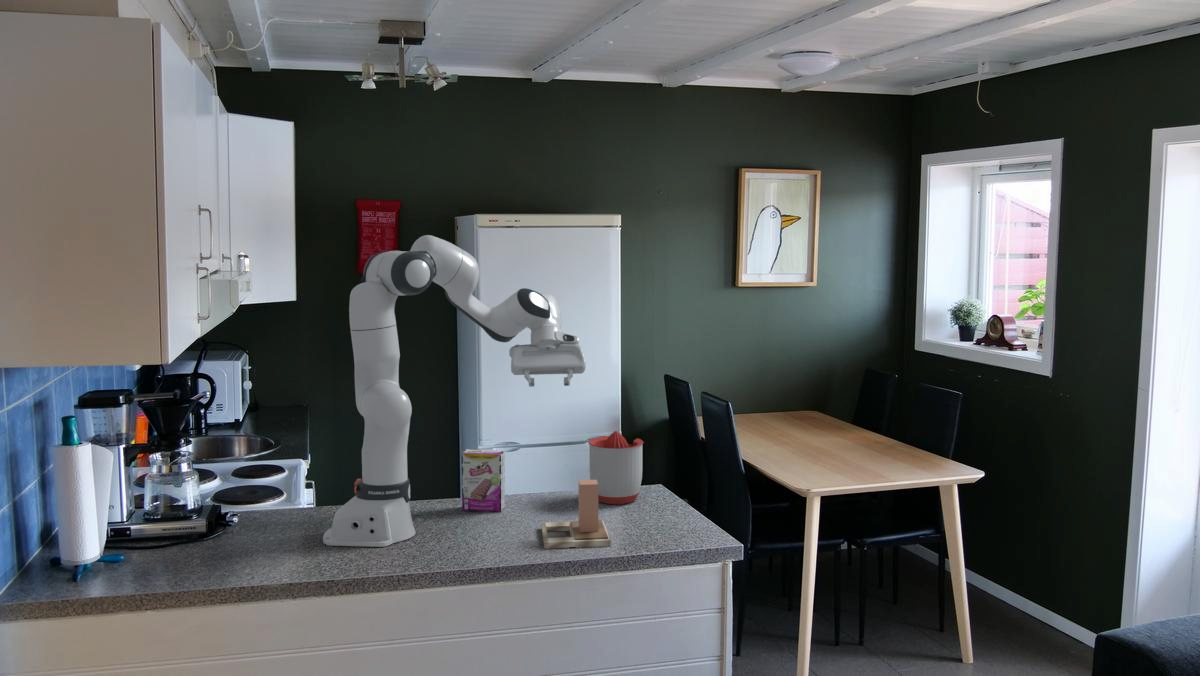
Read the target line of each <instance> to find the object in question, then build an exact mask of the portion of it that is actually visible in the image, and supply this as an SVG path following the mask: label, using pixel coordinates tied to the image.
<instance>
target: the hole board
mask: <svg viewBox="0 0 1200 676" xmlns="http://www.w3.org/2000/svg"><path fill="white" fill-rule="evenodd" d="M541 534H542V535H541V536H542V541H543V547H544V549H547V550H548V549H549V550H550V549H567V548H568V549H570V548H569V547H576V548H592V547H593V548H595V547H598V548H599V547H601V548H602V547H611V544H612V543H611V542H612V541H611V538H610V534H609V533H608V530H607V527H606V525H605V522H604V520H602V519H598V532H580V529H579V520H574V521H573V520H572V521H571V520H570V521H558V522H557V521H554V522H550V521H549V522H541Z"/></svg>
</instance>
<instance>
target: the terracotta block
mask: <svg viewBox="0 0 1200 676" xmlns="http://www.w3.org/2000/svg"><path fill="white" fill-rule="evenodd" d="M598 520H599V501H598V482H597V480H590V479H578V521H579V529H580V532H598Z"/></svg>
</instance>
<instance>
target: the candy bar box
mask: <svg viewBox="0 0 1200 676" xmlns="http://www.w3.org/2000/svg"><path fill="white" fill-rule="evenodd" d="M505 458H506V457H505V450H502V449H501V450H500V449H499V450H498V449H474V448H473V449H472V448H471V449H469V448H466V449H464V450H463V451H462V453H461V501H462V502H461V504H462V505H461V506H462V507H461V509H462V512H463V511H464V512H465V511H468V512H497V513H502V512H503V510H504V508H506V506H505V505H506V500H505V498H506V497H505V493H506V491H505V490H506V489H505V486H506V485H505V483H506V482H505V481H506V480H505V475H506V474H505V461H506V460H505Z"/></svg>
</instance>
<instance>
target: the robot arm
mask: <svg viewBox="0 0 1200 676" xmlns="http://www.w3.org/2000/svg"><path fill="white" fill-rule="evenodd" d="M362 272H363V273H362V277H361V280H360V283H359V284H357V285H356V286H354V287H353V288H352V289H351V292H350V295H349V307H348V312H349V314H348V315H349V317H348V318H349V328H350V337H351V344H352V352H353V361H354V392H355V405H356V408H357V410H358V413H359V414H360V416H362V417H363V419H364V420H363V421H364V430H363V431H364V433H363V442H362V448H361V469H362V470H361V474H362V475H361V476H362V477H361V478H356V480H355V482H354V486H353V489H354V496H353V497H352V498H351V499H349V500H348V501H347V502H345V503H344V504H343V505H342V506H341V507H340V508H338V509H337V511H336V512H335V514H334V515H333V519H332V524H331V527H329V528H327V530H326V531H325V532H324V534H323V536H322V542H323V544H324V545H325V544H326V546H333V547H334V546H335V547H337V546H338V547H340V546H341V547H371V548H375V547H378V548H383V547H388V546H390V545H392V544H394V543H395V544H396V543H399V542H403V541H406V540H408V539H411V538H412V537H414V536H416V529H415V526H414V522H413V518H412V514H411V513H412V512H411V507H410V506H411V505H410V500H411V484H410V478H409V477H408V442H409V434H410V425H411V417H412V413H413V412H412V410H413V407H412V402H411V400H410V398H409V395H408V394H407V393H406V392H405V390H403V389H401V387H400V382H399V381H400V379H399V378H400V377H399V375H400V373H399V371H400V370H399V369H400V367H399V366H400V359H401V358H400V357H401V353H400V344H399V343H400V342H399V335H398V328H397V320H396V313H395V307H396V301H397V299H398V297H399V296H403V297H404V296H416V295H419V294H421V293H423V292H424V291H426V290H427V289H428V288H430V286H431V284H432V282H433V283H435V284H437V285H439V287H442V288H443V289H444V294H445V296H446V299H447V300H448V302H449V303H450V304H451V305H452V306H453V307H455V308H456V310H458V311H459V312H461V313H462V314H463V315H465V316H466V317H467V318H469V319H470V320H472V322H474V323H475V324H477V325H478V326H479V327H480V328H481V329H482V330H483V331H484V332H485V333H486V334H487V335H488V336H489V337H490V338H491V339H493V340H494V341H496V342H500V343H508V342H511V341H512V340H513V339H514V338H515V337H516V336H517V335H519V333H521V332H523V331H524V330H525V329H529V330H530V343H529V344H525V343H524V344H514V346H511V347H509V350H508V351H509V354H508V355H509V357H510V358H511V359H510V360H511V362H510V372H511V373H512V374H513V375H514V376H523V377H524V380H526V381H527V382H528V387H529V388H530V387H531V388H534V387H535V378H534V377H531V375H532V376H533V375H536V376H537V375H567V376H564V377H563V385H564V387H568V386H570V385H571V384H570V383H571V379H572V378H573V376H574V375H575V374H576V375H578V374H580V375H581V374H583V373H584V372H585V371H586V358H585V354H584V350H583V348H582V346H581V345H580V339H579V337H578V336H576V335H573V334H568V333H565V332H562V330H561V328H562V315H561V311H560V310H561V309H560V307H559V306H560V305H559V303H558V301H557V299H556V298H555V296H553V295H551V294H549V293H545V292H541V293H539V292H538V291H536V290H534V289H530V288H528V287H527V288H524V287H523V288H520V289H519V290H517V291H516V292H514V293H513V294H511V295H510V296H509V297H507V298H506V299H505V300H504V301H502V302H501V303H499V304H498V305H496V306H494V307H493V306H492V307H489V306H487V305H485V304H484V303H483V302H482V301H480V300H479V299H478V298H477V297H475V296H474V295H473V293H474V291H475V289H476V288H477V285H478V283H479V277H480V267H479V264H478V261H477V259H476V258H475V257H474V256H473V255H472V254H470V253H469V252H468V251H466V250H464V249H463V248H461V247H459V246H458V245H455V243H454V244H453V243H452V242H450V241H447V240H446V239H442V238H439V237H436V236H434V235H430V234H425V235H422V236H420V237H418V239H416V240H415V241H414V243H412V245H411V247H410V250H408V251H405V250H404V251H401V250H390V251H381V252H377V253H376V254H373V255H372V256H370V257H369V258H368V259H367V261H366V262H365V265H364V267H363V271H362Z"/></svg>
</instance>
